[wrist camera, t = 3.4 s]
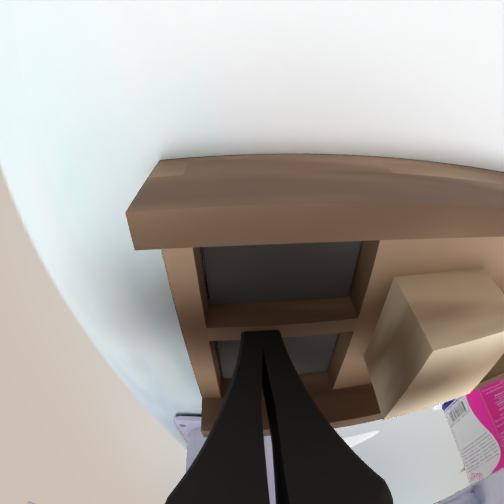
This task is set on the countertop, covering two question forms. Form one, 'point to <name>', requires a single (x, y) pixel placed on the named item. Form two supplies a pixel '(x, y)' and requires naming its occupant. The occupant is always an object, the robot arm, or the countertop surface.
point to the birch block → (435, 339)
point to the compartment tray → (309, 258)
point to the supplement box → (479, 429)
